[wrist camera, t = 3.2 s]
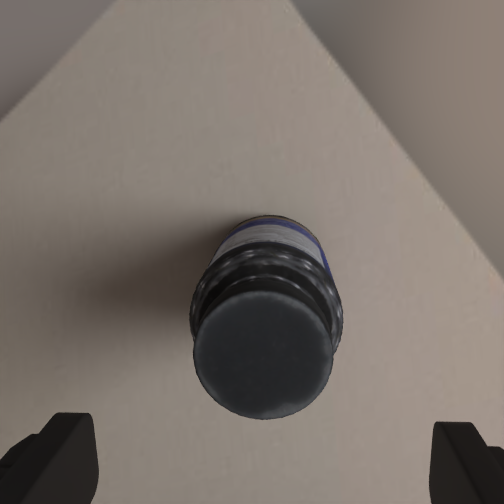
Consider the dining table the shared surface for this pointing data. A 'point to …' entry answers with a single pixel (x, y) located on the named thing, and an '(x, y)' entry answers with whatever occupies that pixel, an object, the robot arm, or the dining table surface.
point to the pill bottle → (266, 319)
